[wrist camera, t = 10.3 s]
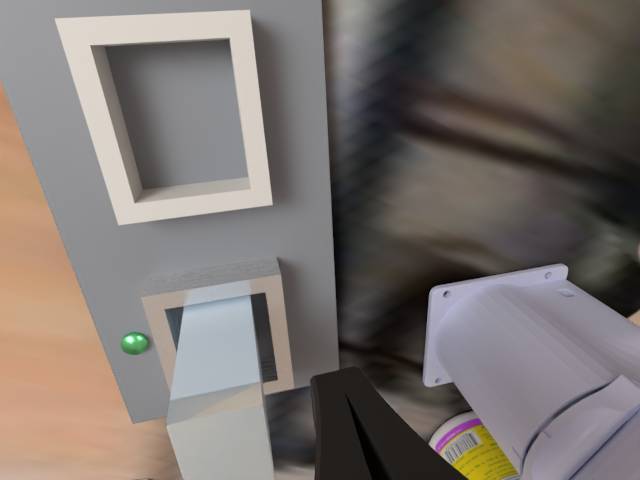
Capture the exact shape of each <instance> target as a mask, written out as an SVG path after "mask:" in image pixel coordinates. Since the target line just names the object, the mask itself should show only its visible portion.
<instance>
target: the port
mask: <svg viewBox="0 0 640 480" xmlns="http://www.w3.org/2000/svg"><path fill="white" fill-rule="evenodd" d="M263 292H265V297H266V304H267V311H268V318H269V325H270V332H271V339H272V346H273V353H274V357H271V358H266V359H261V360H260V363H261V371H262V379H263V387H264V394H269V393H273V392H278V391H283V390H287V389H292V388H294V380H293V372H292V363H291V355H290V346H289V338H288V329H287V321H286V313H285V304H284V296H283V287H282V279H281V273H280V269H279V265H278V261H277V258H276V257H271V258H264V259H258V260H252V261H245V262H239V263H232V264H226V265H220V266H213V267H207V268H200V269H194V270H188V271H181V272H175V273H168V274H162V275H156V276H149V277H148V278H147V280H146V283H145V286H144V289H143V292H142V295H141V300H142V303H143V306H144V310H145V313H146V316H147V319H148V322H149V326H150V329H151V332H152V335H153V339H154V342H155V345H156V348H157V352H158V355H159V358H160V361H161V365H162V368H163V371H164V374H165V377H166V381H167V384H168V387H169V390H170V394H171V389H172V382H173V376H174V369H175V363H176V356H177V350H178V343H179V336H180V326H179V323H178V319H177V315H176V311H175V307H181V306H187V305H193V304H199V303H205V302H210V301H216V300H222V299H228V298H234V297H240V296H245V295H251V294H257V293H263ZM147 345H148V339H147V337H146V336H145V335H144V334H142V333H139V332H131V333H128V334H126V335H125V336H124V337H123V339H122V342H121V349H122V350H123V351H124V352H125V353H127V354H129V355H139V354H141V353H143V352H144V351H145V350H146V348H147Z"/></svg>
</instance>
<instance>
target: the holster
mask: <svg viewBox="0 0 640 480" xmlns="http://www.w3.org/2000/svg"><path fill="white" fill-rule="evenodd" d="M54 19H55V22H56V25H57V28H58V31H59V35H60V38H61V41H62V44H63V48H64V51H65V54H66V57H67V61H68V64H69V67H70V70H71V74H72V77H73V80H74V83H75V86H76V90H77V93H78V96H79V99H80V103H81V106H82V109H83V112H84V116H85V119H86V122H87V125H88V128H89V132H90V135H91V138H92V141H93V145H94V148H95V151H96V154H97V158H98V161H99V164H100V167H101V171H102V174H103V177H104V180H105V183H106V187H107V190H108V193H109V196H110V200H111V203H112V206H113V209H114V213H115V216H116V219H117V222H118V225H125V224H132V223H140V222H147V221H155V220H162V219H170V218H178V217H185V216H193V215H200V214H208V213H215V212H223V211H230V210H238V209H245V208H253V207H260V206H268V205H273V202H272V194H271V185H270V177H269V169H268V160H267V152H266V143H265V135H264V126H263V118H262V109H261V101H260V92H259V84H258V75H257V67H256V58H255V50H254V41H253V33H252V25H251V16H250V10H234V11H212V12H189V13H167V14H144V15H122V16H99V17H77V18H54ZM212 40H229V44H230V51H231V58H232V65H233V72H234V79H235V86H236V93H237V100H238V107H239V114H240V121H241V128H242V135H243V142H244V149H245V156H246V163H247V170H248V177H245V178H236V179H228V180H220V181H211V182H203V183H194V184H186V185H178V186H169V187H161V188H152V189H144V190H143V188H142V184H141V181H140V177H139V173H138V170H137V166H136V162H135V158H134V155H133V151H132V147H131V143H130V140H129V136H128V132H127V128H126V125H125V121H124V117H123V114H122V110H121V106H120V102H119V99H118V95H117V91H116V87H115V84H114V80H113V76H112V72H111V69H110V65H109V61H108V58H107V54H106V50H105V47H107V46H124V45H142V44H159V43H177V42H194V41H212Z"/></svg>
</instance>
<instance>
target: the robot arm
mask: <svg viewBox="0 0 640 480" xmlns="http://www.w3.org/2000/svg"><path fill="white" fill-rule="evenodd" d="M546 273H547V274H546ZM545 274H546V275H545ZM567 274H568V267H567V266H565V265H563V264H554V265H548V266H543V267H537V268H532V269H527V270H521V271H516V272H510V273H505V274H499V275H494V276H488V277H483V278H477V279H472V280H466V281H461V282H455V283H450V284H444V285H439V286H435V287H434V288H432V289H431V291H430V293H429V303H428V316H427V329H426V342H425V355H424V368H423V383H424V384H425V385H426V386H427V387H433V386H437V385H442V384H446V383H450V382H454V384H455V385H456V386H457V388H458V389H459V391H460V392H461V393H462V395H463V396H464V398H465V399H466V401H467V402H468V403H469V405H470V406H471V408H472V409H473V410H474V412H475V413H476V415H477V416H478V417H479V419H480V420H481V422H482V423H483V424H484V426H485V427H486V429H487V430H488V431H489V433H490V434H491V436H492V437H493V438H494V440H495V441H496V443H497V444H498V446H499V447H500V448H501V450H502V451H503V453H504V454H505V455H506V457H507V458H508V460H509V461H510V462H511V464H512V465H513V467H514V468H515V469H516V471H517V472H518V474H519V475H520V476H521V478H520V480H640V327H639V326H637V325H636V324H634V323H633V322H631V321H629V320H628V319H626V318H625V317H623V316H622V315H620V314H619V313H617V312H616V311H614V310H612V309H611V308H609V307H608V306H606V305H605V304H603V303H602V302H600V301H599V300H597V299H595V298H594V297H592V296H591V295H589V294H588V293H586V292H585V291H583V290H582V289H580V288H578V287H577V286H575V285H574V284H572V283H571V282H569V281H568V280H566V278H567ZM446 291H447V293H446V294H444V293H445V292H446ZM443 294H444V295H443ZM310 387H311V398H312V408H313V419H314V426H315V431H316V463H315V480H469V479H468V478H467V477H465V476H464V475H463V474H462V473H460V472H459V471H458V470H457V469H456V468H454V467H453V466H452V465H451V464H450V463H448V462H447V461H446V460H445V459H444V458H443V457H442V456H440V455H439V454H438V453H437V452H436V451H435V450H434V449H433V448H432V447H431V446H430V445H428V444H427V443H426V442H425V441H424V440H423V439H422V438H421V437H420V436H419V435H418V434H417V433H416V432H415V431H414V430H413V429H412V428H411V427H410V426H409V425H408V424H407V423H406V422H405V421H404V420H403V419H402V418H401V417H400V416H399V415H398V414H397V413H396V412H395V411H394V410H393V409H392V408H391V407H390V405H389V404H388V403H387V402H386V401H385V400H384V399H383V398H382V397H381V395H380V394H379V393H378V392H377V391H376V390H375V389H374V387H373V386H372V385H371V384H370V383H369V381H368V380H367V379H366V378H365V376H364V375H363V374H362V373H361V371H360V370H359V369H358V368H357V367H355V366H354V367H350V368H345V369H341V370H337V371H332V372H328V373H323V374H319V375H315V376H313V377H312V378H311V379H310Z"/></svg>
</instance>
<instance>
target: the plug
mask: <svg viewBox="0 0 640 480" xmlns="http://www.w3.org/2000/svg"><path fill="white" fill-rule="evenodd" d="M166 427H167V430H168V433H169V436H170V439H171V443H172V446H173V449H174V452H175V455H176V458H177V461H178V464H179V467H180V471H181V474H182V477H183V480H275V475H274V467H273V459H272V451H271V443H270V435H269V427H268V419H267V411H266V403H265V395H264V387H263V379H262V371H261V363H260V355H259V347H258V340H257V333H256V327H255V320H254V314H253V307H252V301H251V295H245V296H240V297H234V298H228V299H222V300H216V301H210V302H205V303H199V304H193V305H187V306H184V310H183V317H182V323H181V330H180V336H179V343H178V350H177V356H176V363H175V369H174V376H173V382H172V389H171V396H170V402H169V409H168V415H167V422H166Z"/></svg>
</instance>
